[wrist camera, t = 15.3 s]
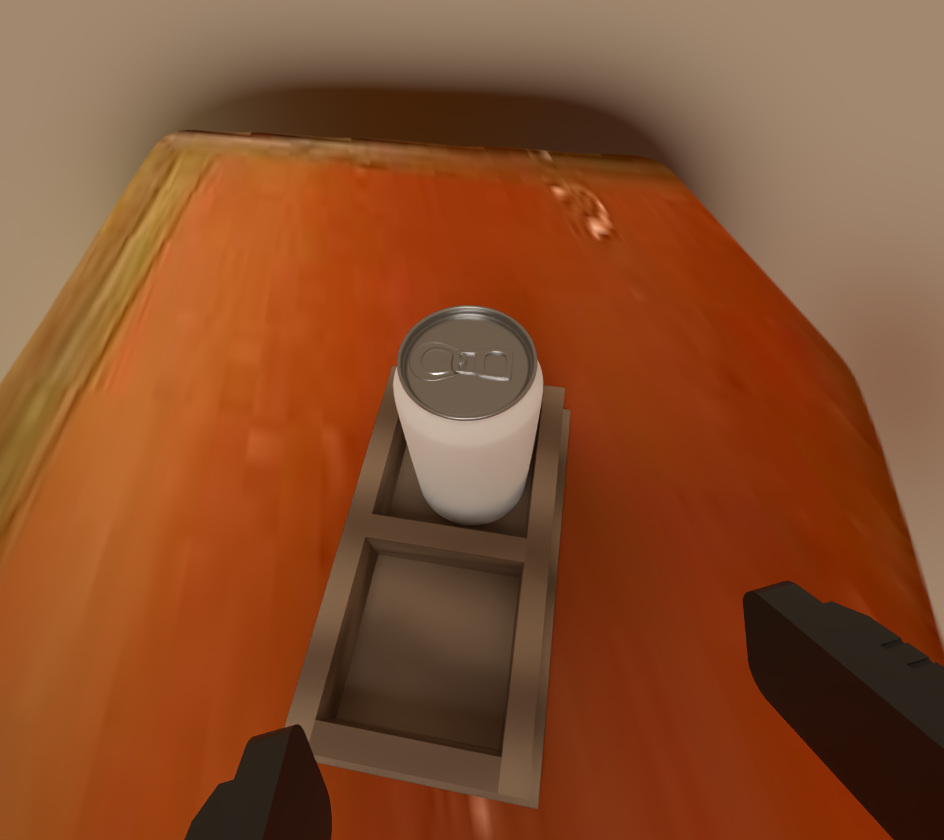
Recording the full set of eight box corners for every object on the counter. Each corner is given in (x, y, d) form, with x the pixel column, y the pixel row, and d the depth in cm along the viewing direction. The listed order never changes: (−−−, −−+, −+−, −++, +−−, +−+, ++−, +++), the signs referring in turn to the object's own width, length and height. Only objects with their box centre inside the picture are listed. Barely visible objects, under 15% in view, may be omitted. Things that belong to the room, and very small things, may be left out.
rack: (534, 803, 24) (546, 826, 19) (294, 752, 25) (254, 763, 21) (567, 421, 34) (579, 379, 29) (395, 398, 35) (382, 355, 31)
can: (426, 426, 32) (398, 293, 22) (527, 432, 32) (549, 300, 21) (412, 524, 29) (372, 424, 18) (524, 532, 29) (548, 434, 18)
